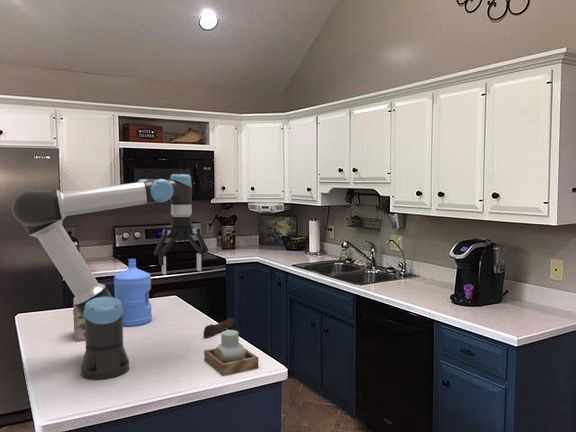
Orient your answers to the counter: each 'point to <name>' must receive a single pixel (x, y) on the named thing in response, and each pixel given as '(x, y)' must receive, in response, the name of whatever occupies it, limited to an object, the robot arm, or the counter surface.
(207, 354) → the tray
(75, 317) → the decorative jar
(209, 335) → the hand tool
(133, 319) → the water jug
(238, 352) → the air freshener
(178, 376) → the counter surface
